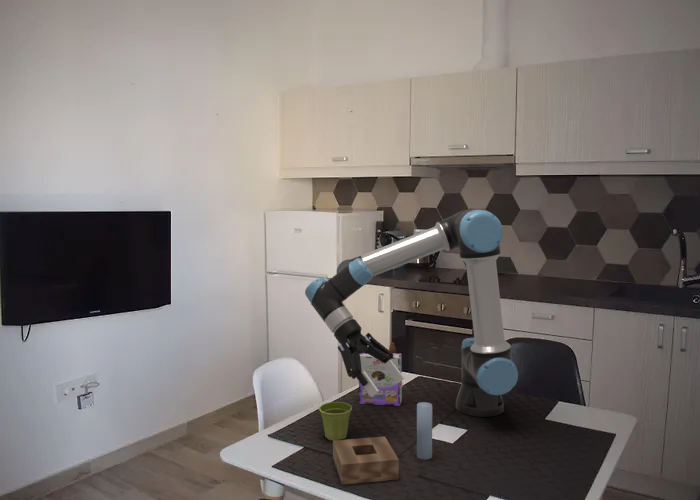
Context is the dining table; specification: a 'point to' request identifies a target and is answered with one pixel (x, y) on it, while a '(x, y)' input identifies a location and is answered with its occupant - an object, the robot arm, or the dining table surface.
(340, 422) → the plant pot
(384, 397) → the candy box
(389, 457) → the bore block
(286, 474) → the dining table surface
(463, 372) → the robot arm
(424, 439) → the dowel
